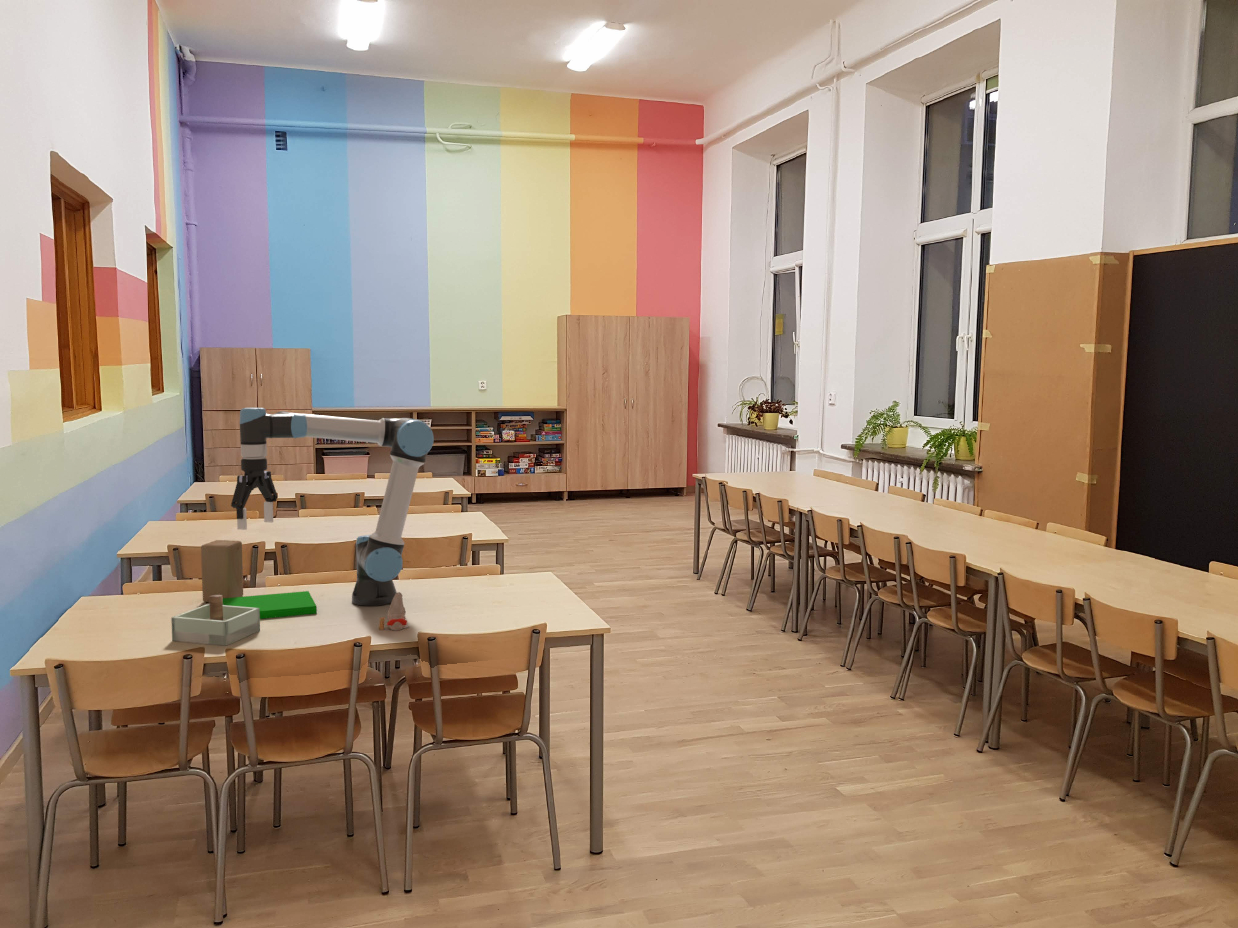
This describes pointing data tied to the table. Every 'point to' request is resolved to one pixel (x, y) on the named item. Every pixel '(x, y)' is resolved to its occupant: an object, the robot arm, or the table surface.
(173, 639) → the crate
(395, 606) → the figurine
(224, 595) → the wooden block
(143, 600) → the table surface
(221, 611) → the peg
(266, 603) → the book
